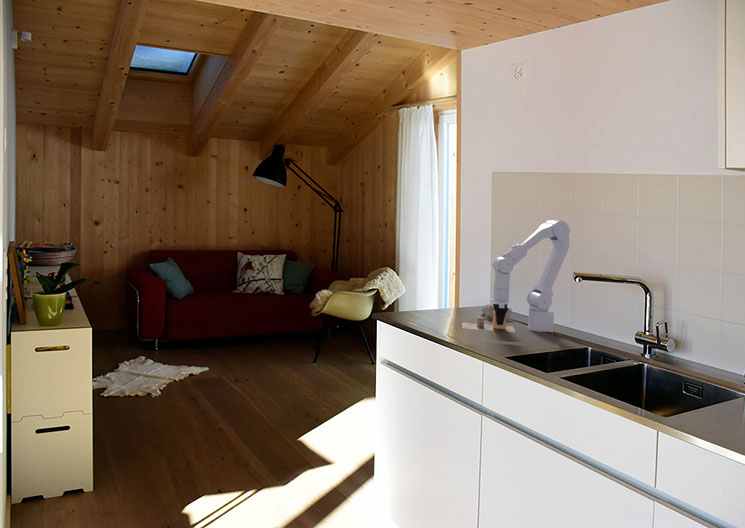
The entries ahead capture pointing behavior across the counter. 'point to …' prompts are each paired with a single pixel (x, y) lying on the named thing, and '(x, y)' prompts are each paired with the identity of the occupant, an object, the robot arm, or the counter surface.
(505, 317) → the light orange block
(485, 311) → the stone
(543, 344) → the counter surface
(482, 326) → the board
